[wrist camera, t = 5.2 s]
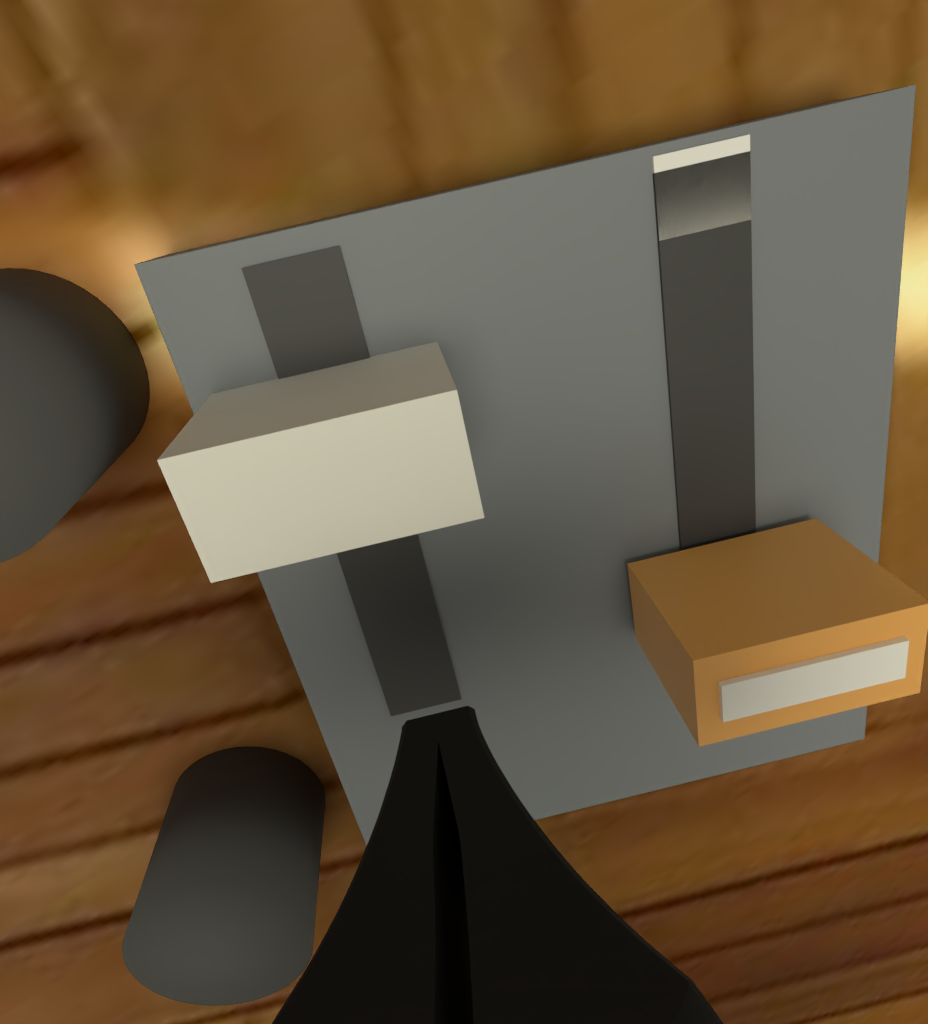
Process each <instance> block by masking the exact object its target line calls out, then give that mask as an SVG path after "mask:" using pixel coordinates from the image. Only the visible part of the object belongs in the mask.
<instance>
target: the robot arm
mask: <svg viewBox="0 0 928 1024" xmlns="http://www.w3.org/2000/svg"><path fill="white" fill-rule="evenodd" d="M272 1024H723V1023H722V1021H721V1020H720V1018H719V1017H718V1015H717V1014H716V1013H715V1011H714V1010H713V1008H712V1007H711V1006H710V1004H709V1003H708V1001H707V1000H706V999H705V997H704V996H703V995H702V993H701V992H700V991H699V989H698V988H697V987H696V985H695V984H694V982H693V981H692V980H691V979H690V978H689V977H688V976H686V975H685V974H684V973H683V972H682V971H680V970H679V969H678V968H677V967H676V966H674V965H673V964H672V963H671V962H669V961H668V960H667V959H666V958H665V957H664V956H662V955H661V954H660V953H659V952H658V951H657V950H655V949H654V948H653V947H652V946H651V945H650V944H649V943H647V942H646V941H645V940H644V939H643V938H642V937H641V936H640V935H639V934H638V933H637V932H635V931H634V930H633V929H632V928H631V927H630V926H629V925H628V924H627V923H626V922H625V921H624V920H622V919H621V918H620V917H619V916H618V915H617V914H616V913H615V912H614V910H613V909H612V908H611V907H610V906H609V905H608V904H607V903H606V902H605V901H604V900H603V899H602V898H601V897H600V896H599V895H598V894H597V893H596V892H595V891H594V890H593V889H592V888H591V887H590V886H589V885H588V884H587V883H586V882H585V881H584V880H583V879H582V878H581V876H580V875H579V874H578V873H577V872H576V871H575V870H574V869H573V867H572V866H571V865H570V864H569V863H568V862H567V861H566V859H565V858H564V857H563V856H562V855H561V853H560V852H559V851H558V850H557V849H556V847H555V846H554V845H553V844H552V843H551V841H550V840H549V839H548V838H547V836H546V835H545V834H544V832H543V831H542V830H541V828H540V827H539V826H538V824H537V823H536V822H535V820H534V819H533V818H532V816H531V815H530V813H529V812H528V811H527V809H526V808H525V806H524V805H523V804H522V802H521V801H520V799H519V798H518V796H517V795H516V793H515V792H514V790H513V789H512V787H511V785H510V784H509V782H508V780H507V779H506V777H505V776H504V774H503V772H502V771H501V769H500V767H499V766H498V764H497V762H496V760H495V758H494V757H493V755H492V753H491V751H490V749H489V747H488V745H487V743H486V741H485V738H484V736H483V734H482V732H481V729H480V727H479V724H478V720H477V716H476V712H475V709H474V708H472V707H470V706H464V707H460V708H456V709H452V710H448V711H444V712H440V713H436V714H432V715H427V716H423V717H419V718H415V719H411V720H407V721H406V722H405V723H404V725H403V726H402V731H401V737H400V742H399V746H398V751H397V755H396V759H395V763H394V767H393V770H392V774H391V777H390V781H389V784H388V787H387V790H386V793H385V797H384V800H383V803H382V806H381V809H380V812H379V815H378V818H377V821H376V823H375V826H374V829H373V831H372V834H371V836H370V839H369V842H368V844H367V847H366V849H365V852H364V854H363V857H362V860H361V862H360V864H359V867H358V869H357V871H356V873H355V876H354V878H353V880H352V882H351V885H350V887H349V889H348V891H347V893H346V895H345V897H344V899H343V902H342V904H341V906H340V908H339V910H338V912H337V914H336V916H335V918H334V920H333V921H332V923H331V925H330V927H329V929H328V931H327V933H326V935H325V936H324V938H323V940H322V942H321V944H320V946H319V948H318V949H317V951H316V953H315V955H314V956H313V958H312V960H311V962H310V963H309V965H308V967H307V969H306V970H305V972H304V974H303V975H302V977H301V978H300V980H299V982H298V983H297V985H296V986H295V988H294V989H293V991H292V993H291V994H290V996H289V997H288V999H287V1001H286V1002H285V1004H284V1005H283V1007H282V1008H281V1010H280V1012H279V1013H278V1015H277V1016H276V1018H275V1019H274V1021H273V1023H272Z"/></svg>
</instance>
